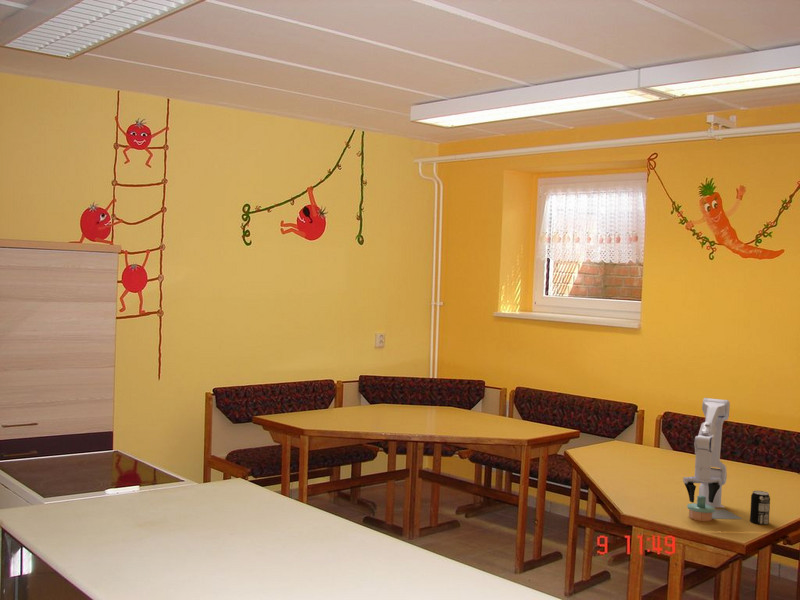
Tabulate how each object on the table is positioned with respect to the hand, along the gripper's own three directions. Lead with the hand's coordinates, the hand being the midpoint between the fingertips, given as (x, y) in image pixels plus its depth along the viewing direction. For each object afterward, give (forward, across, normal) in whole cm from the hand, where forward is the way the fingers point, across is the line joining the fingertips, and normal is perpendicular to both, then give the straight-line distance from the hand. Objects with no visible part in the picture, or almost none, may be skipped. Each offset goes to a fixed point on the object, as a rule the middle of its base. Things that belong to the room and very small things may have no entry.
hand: (701, 501), depth 313 cm
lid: (+3, 0, 0) cm, 3 cm away
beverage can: (+7, +21, -5) cm, 23 cm away
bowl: (+7, 0, 0) cm, 7 cm away
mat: (+7, +10, +6) cm, 14 cm away
